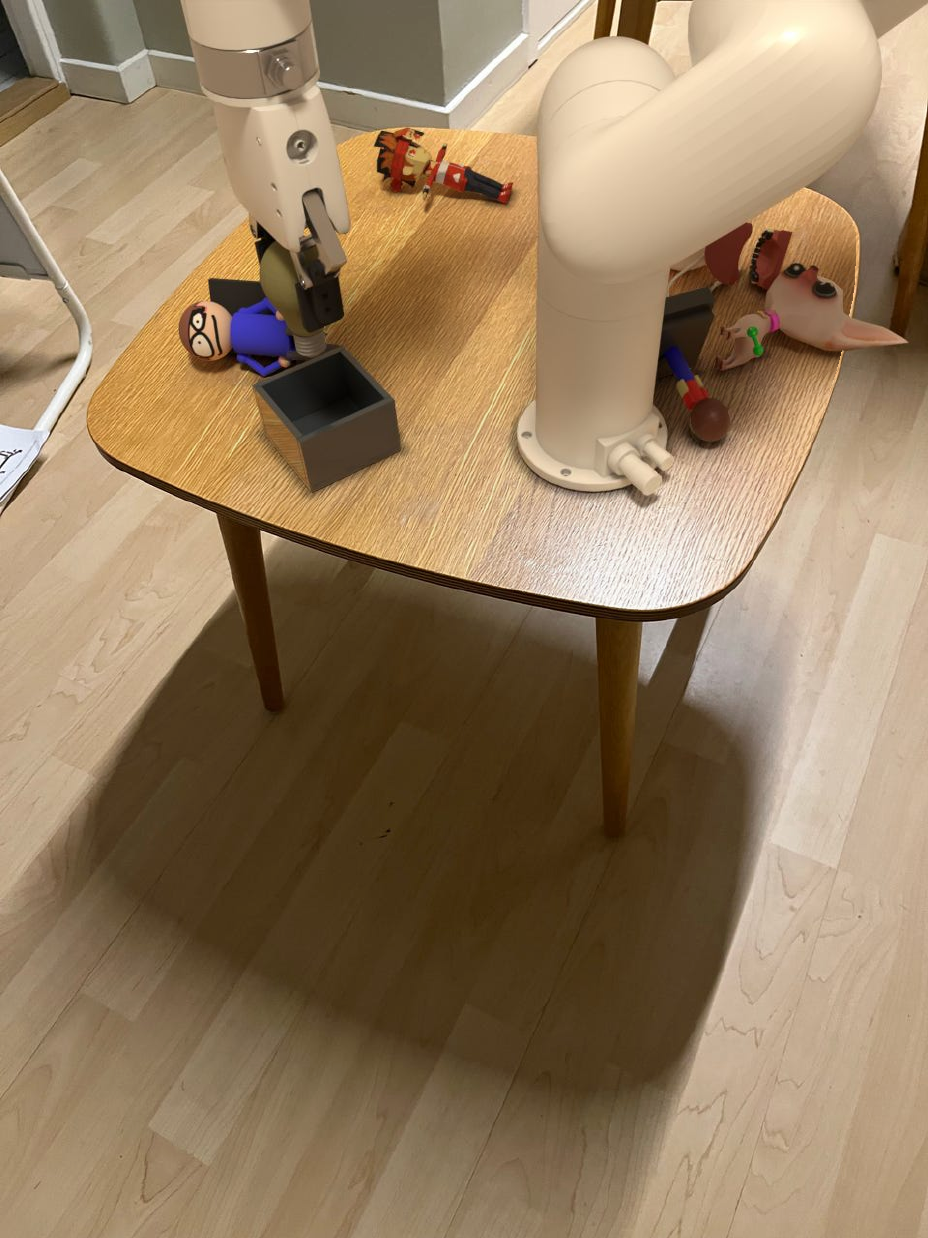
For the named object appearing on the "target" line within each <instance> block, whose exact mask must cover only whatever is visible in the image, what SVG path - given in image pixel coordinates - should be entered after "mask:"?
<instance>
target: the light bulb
mask: <svg viewBox="0 0 928 1238" xmlns="http://www.w3.org/2000/svg"><path fill="white" fill-rule="evenodd" d="M305 236H306V235H303V237H305ZM300 238H302V237H300ZM300 238H299V239H300ZM303 254H304V257H305V260H306V263H307V266H309V265H310V264H311V262H312V261H314V260H317V259H318V257H319V252H318V249H317V246H315V247H312V248H310V249H307V250H305V251H303ZM258 275H259V281H260V283H261V286H262V289H263V291H264V293H265V295H266V297H267V299H268V300H269V301H270V303H271V304H272V305H273V306H274V307H275V308H276V310H277V311H278V312H279V313H280V314H281V315H282V316H283V318H284V320H285V322H286V324H287V326H288V328H289V329H290V331H291V332H292V334H293V336H294V342H295V347H296V351H297V352H298V353H299V354H301V355H303V356H308V357H311V358H312V357H316V356H317V355H319V354H320V353H322V352H323V351H324V350H325V349H326V346H327V344H328V343H327V339H326V336H325V333H324V332H325V327H323V328H321V329H319V330H316V331H314V332H311V333H309V332H307V331H306V330H305V329H304V327H303V323H302V318H301V313H300V308H299V303H298V298H297V293H296V288H295V284H296V283H298V282H299V279H298V276H297V273H296V269H295V266H294V263H293V260H292V257H291V254H290V251H289V250H288V249H286V248H284V247H283V246H282V245H281V244H280V243H279V242H278V241H277V240H276V241H275V242H273V243H272V244H271V245H270V246H269V247H268V249H267V250H266V251H265V253H264V255H263V258H262V260H261V264H260V265H259V272H258Z"/></svg>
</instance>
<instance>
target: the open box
mask: <svg viewBox="0 0 928 1238" xmlns="http://www.w3.org/2000/svg"><path fill="white" fill-rule="evenodd" d="M251 387H252V390H253V395H254V398H255V402H256V405H257V410H258V414H259V418H260V421H261V425H262V429H263V432H264V436H265V437H266V438H267V440H268V441H269V443H271V444H272V446H273V447H274V448H275V449H276V451H277V452H278V453H279V455H280V456H281V457H282V458H283V459H284V461H285V462H286V463H287V464H288V466H289V467H290V468H291V469H292V470H293V471H294V473H295V474H296V475H297V477H298V478H299V479H300V481H301V482H302V483H303V484H304V485H305V487H306V488H307V490H309V491H310V493H315V492H316V491H319V490H321V489H323V488H326V487H328V486H329V485H332V484H335V483H336V482H338V481H340V480H342V479H344V478H346V477H348V476H350V475H353V474H354V473H357V472H358V471H361V470H363V469H365V468H367V467H369V466H372V465H374V464H375V463H377V462H380V461H382V460H383V459H386V458H388V457H390V456H393V455H394V454H397V453H399V452H400V451H402V446H401V438H400V431H399V423H398V416H397V414H398V413H397V407H396V399H395V398H394V397H393V396H392V395H391V394H390V393H389V392H388V390H386V389H385V388H384V387H383V386H382V385H381V384H380V383H379V381H377V379H375V377H374V376H373V375H372V374H371V373H370V372H369V371H368V370H367V369H366V368H365V367H364V366H363V365H362V364H361V363H360V361H358V360H357V359H356V357H355V356H354V355H353V354H352V353H351V352H350V351H349V350H348V349H347V348H346V347H345V346H344V345H340V347H338V348H336V349H334V350H331V351H329V352H327V353H324V354H322V355H320V356H317V357H315V358H313V359H311V360H308V361H306V362H304V363H301V364H299V365H297V364H296V365H295V366H292V367H290V368H288V369H286V370H283V371H281V372H278V373H276V374H274V375H272V376H269V377H267V378H265V379H262V380H259V381H258V382H255V383H253V384H252V385H251Z"/></svg>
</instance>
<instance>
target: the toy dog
mask: <svg viewBox="0 0 928 1238" xmlns="http://www.w3.org/2000/svg"><path fill="white" fill-rule="evenodd" d="M819 271H820V268H819V267H818V266H816V265H814V264H812V265H810V266H808V267H807V269H806V268H805V266H804V265H803V264H802V263H801V262H794V263H791V264H789V265H788V266H787V267H786V268H784V270H782V271H780V273H779V276H778V277H777V278H776V279H775V281H774V282H773V284H772V285H771V287H770V288H769V290H766V294H765V302H764V303H765V304H764V311H763V310H757V311H756V313H750V314H746V315H742V316H741V317H740V318H739V319H738V320H737V321H736V323H734V325H732V326H730V327H728V328H726V325H725V324H723V325H722V324H721V327H720V333H719V334H720V335H721V336H724V335H726V340H727V341H730V340H733V341H734V342H733V350H732V351H731V354H730V356H729V357H728V358H727V359H724V358H722V357H721V355H716V356H715V359H714V368H715V369H718V371H719V372H721V371H725V370H729V369H732V368H736V367H738V366H741V365H744V364H746V363H748V362H749V361H750V360H752V359H757V358H759V357H761V356H762V355H763V354H764V351H765V348H764V346H763V345H762V341H763V338H764V337H765V336H766V335H767V334H770V333H774V331H778V330H780V331H781V332H782V333H783V334H785V335H786V336H788V337H789V338H791V339H793V340H796V341H798V342H801V343H804V344H807V345H809V346H812V347H815V348H817V349H820V350H822V351H826V352H847V351H848V352H849V351H854V350H861V349H867V348H876V347H886V346H887V347H888V346H894V345H903V344H909V341H907V340H906V339H905V338H903V337H902V336H900V335H898V334H897V333H895V332H894V331H892V330H891V329H888V328H887V327H885V326H881V325H878V324H874V323H870V322H866V321H863V320H859V319H857V318H854V317H852V316H850V315H848V314H847V313H846V312H845V311H844V290H843V289H842V288H841V287H840V286H838V284H836V282H834V281H833V280H831V279H829V278H826V277H823V276H821V275H818V273H819Z"/></svg>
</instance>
